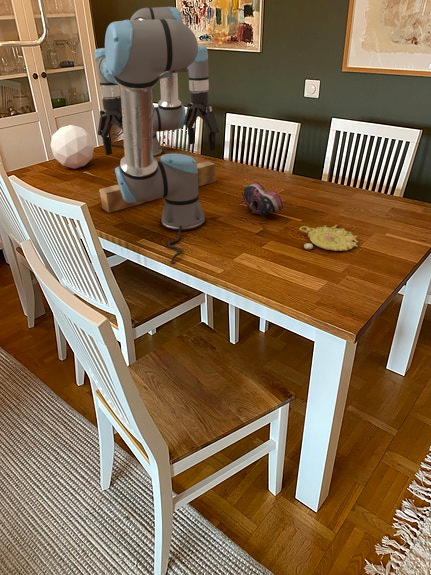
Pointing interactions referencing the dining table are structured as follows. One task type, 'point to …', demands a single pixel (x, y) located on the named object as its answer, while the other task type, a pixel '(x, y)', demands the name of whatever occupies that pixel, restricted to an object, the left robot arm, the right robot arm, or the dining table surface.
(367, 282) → the dining table surface
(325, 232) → the decorative object
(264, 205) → the athletic shoe
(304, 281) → the dining table surface
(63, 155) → the sphere
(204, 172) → the bar
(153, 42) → the right robot arm
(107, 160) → the dining table surface
